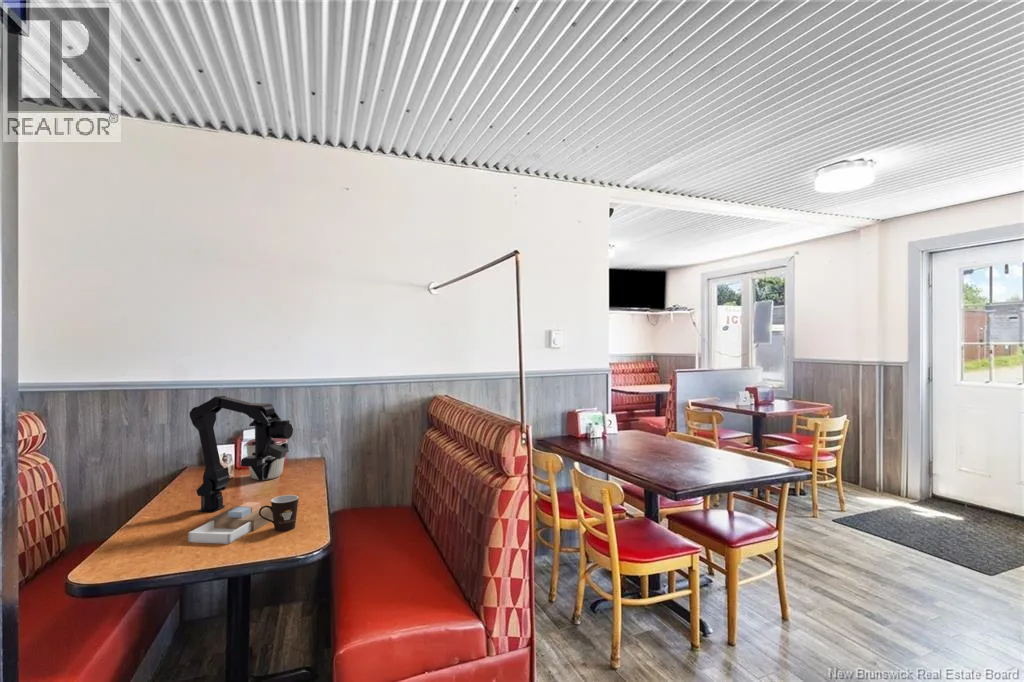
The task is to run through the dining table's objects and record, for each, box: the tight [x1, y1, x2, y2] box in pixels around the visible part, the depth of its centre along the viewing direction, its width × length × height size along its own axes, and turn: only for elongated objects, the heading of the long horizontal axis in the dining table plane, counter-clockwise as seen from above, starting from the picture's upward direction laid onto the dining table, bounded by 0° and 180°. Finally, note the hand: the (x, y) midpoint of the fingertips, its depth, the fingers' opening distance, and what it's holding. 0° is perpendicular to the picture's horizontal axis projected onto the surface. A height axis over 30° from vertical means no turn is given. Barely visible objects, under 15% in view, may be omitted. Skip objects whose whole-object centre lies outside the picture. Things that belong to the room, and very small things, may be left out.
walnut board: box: [209, 505, 273, 532], centre depth 177 cm, size 16×14×4 cm
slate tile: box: [228, 507, 251, 518], centre depth 174 cm, size 5×5×2 cm
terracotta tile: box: [238, 501, 262, 513], centre depth 180 cm, size 5×5×2 cm
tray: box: [187, 520, 251, 545], centre depth 164 cm, size 14×11×3 cm
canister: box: [244, 438, 288, 481], centre depth 237 cm, size 18×18×21 cm
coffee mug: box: [259, 494, 299, 533], centre depth 171 cm, size 12×9×10 cm
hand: (263, 479), depth 188 cm, fingers open, 3 cm apart
